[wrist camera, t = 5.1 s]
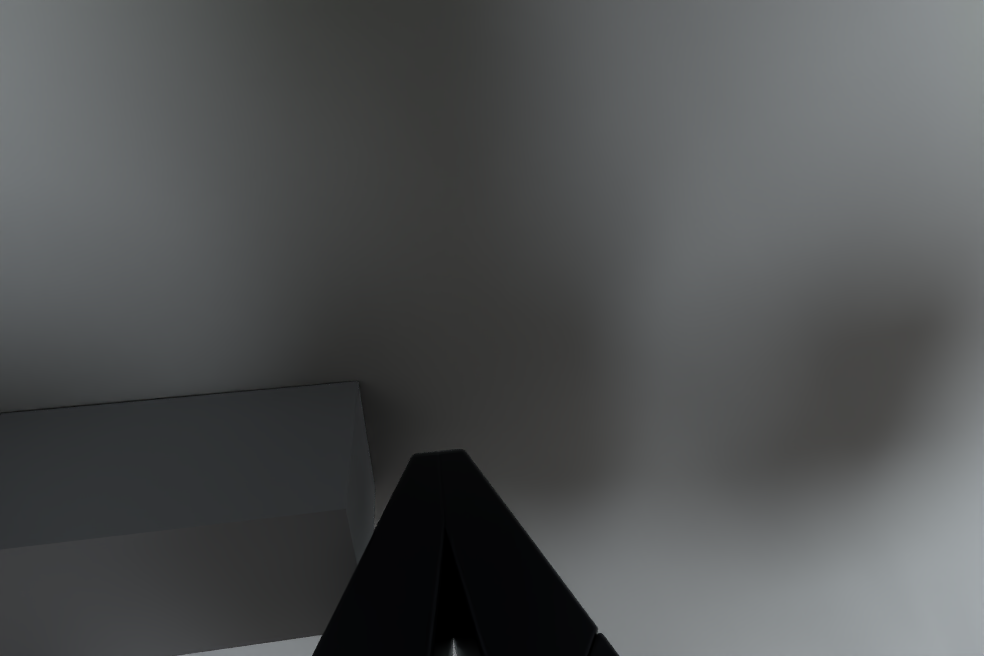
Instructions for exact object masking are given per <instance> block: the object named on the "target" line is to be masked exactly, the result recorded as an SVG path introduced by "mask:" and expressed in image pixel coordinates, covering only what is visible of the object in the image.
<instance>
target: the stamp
mask: <svg viewBox="0 0 984 656" xmlns="http://www.w3.org/2000/svg"><path fill="white" fill-rule="evenodd" d="M374 511H375V484H374V478H373V471H372V465H371V459H370V452H369V446H368V440H367V434H366V427H365V421H364V415H363V408H362V402H361V396H360V390H359V383H358V381H354V382H343V383H332V384H321V385H310V386H299V387H288V388H277V389H266V390H255V391H244V392H233V393H222V394H211V395H201V396H190V397H179V398H168V399H157V400H146V401H135V402H124V403H113V404H102V405H91V406H80V407H69V408H58V409H47V410H36V411H25V412H14V413H3V414H0V656H177V655H184V654H191V653H198V652H205V651H212V650H219V649H226V648H233V647H240V646H247V645H254V644H261V643H268V642H275V641H282V640H289V639H296V638H303V637H310V636H317V635H323V633H324V631H325V629H326V627H327V625H328V623H329V621H330V619H331V617H332V615H333V613H334V611H335V609H336V607H337V605H338V603H339V601H340V599H341V597H342V595H343V593H344V591H345V589H346V587H347V585H348V583H349V581H350V579H351V577H352V575H353V573H354V571H355V569H356V567H357V565H358V563H359V561H360V559H361V557H362V555H363V553H364V551H365V549H366V547H367V545H368V543H369V541H370V539H371V537H372V534H373V532H374Z"/></svg>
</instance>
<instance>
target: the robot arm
mask: <svg viewBox="0 0 984 656" xmlns="http://www.w3.org/2000/svg"><path fill="white" fill-rule="evenodd" d="M453 639H454V644H455V649H456V654H457V656H619V655H618V653H617V652H616V651H615V649H614V648H613V647H612V645H611V644H610V643H609V641H608V640H607V639H606V637H605V636H604V635H603V634H602V633H598V627H597V626H596V625H595V623H594V622H593V621H592V619H591V618H590V617H589V615H588V614H587V612H586V611H585V610H584V608H583V607H582V606H581V604H580V603H579V602H578V600H577V599H576V598H575V596H574V595H573V594H572V592H571V591H570V590H569V588H568V587H567V586H566V584H565V583H564V582H563V580H562V579H561V578H560V576H559V575H558V574H557V572H556V571H555V570H554V568H553V567H552V566H551V564H550V563H549V562H548V560H547V559H546V558H545V556H544V555H543V554H542V552H541V551H540V550H539V548H538V547H537V546H536V544H535V543H534V542H533V540H532V539H531V538H530V536H529V535H528V534H527V532H526V531H525V530H524V528H523V527H522V526H521V524H520V523H519V522H518V520H517V519H516V518H515V516H514V515H513V514H512V512H511V511H510V510H509V508H508V507H507V506H506V504H505V503H504V502H503V500H502V499H501V498H500V496H499V495H498V494H497V492H496V491H495V490H494V488H493V487H492V486H491V484H490V483H489V482H488V480H487V479H486V478H485V476H484V475H483V474H482V472H481V471H480V470H479V468H478V467H477V466H476V464H475V463H474V462H473V460H472V459H471V458H470V456H469V455H468V454H467V452H466V451H465V450H463V449H454V450H444V451H434V452H424V453H416V454H414V455H413V456H412V457H411V458H410V460H409V462H408V464H407V466H406V468H405V470H404V472H403V474H402V476H401V478H400V480H399V482H398V484H397V486H396V488H395V490H394V492H393V494H392V496H391V498H390V500H389V502H388V504H387V506H386V508H385V510H384V512H383V514H382V516H381V518H380V520H379V522H378V524H377V526H376V528H375V530H374V532H373V534H372V537H371V539H370V541H369V543H368V545H367V547H366V549H365V551H364V553H363V555H362V557H361V559H360V561H359V563H358V565H357V567H356V569H355V571H354V573H353V575H352V577H351V579H350V581H349V583H348V585H347V587H346V589H345V591H344V593H343V595H342V597H341V599H340V601H339V603H338V605H337V607H336V609H335V611H334V613H333V615H332V617H331V619H330V621H329V623H328V625H327V627H326V629H325V631H324V633H323V635H322V637H321V639H320V641H319V643H318V645H317V647H316V649H315V651H314V653H313V655H312V656H453Z"/></svg>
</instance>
